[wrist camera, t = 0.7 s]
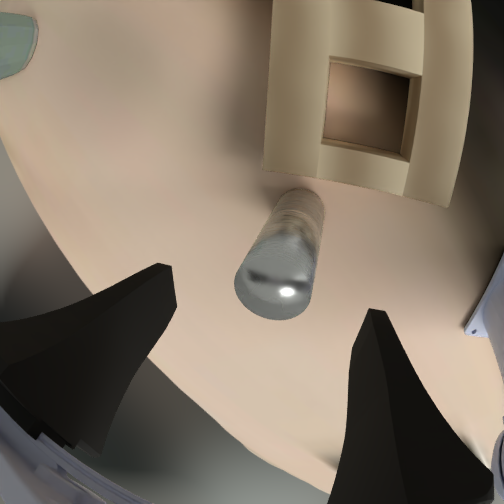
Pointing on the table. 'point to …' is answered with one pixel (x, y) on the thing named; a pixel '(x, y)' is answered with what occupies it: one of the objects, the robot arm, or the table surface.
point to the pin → (283, 258)
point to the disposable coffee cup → (16, 42)
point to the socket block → (381, 59)
